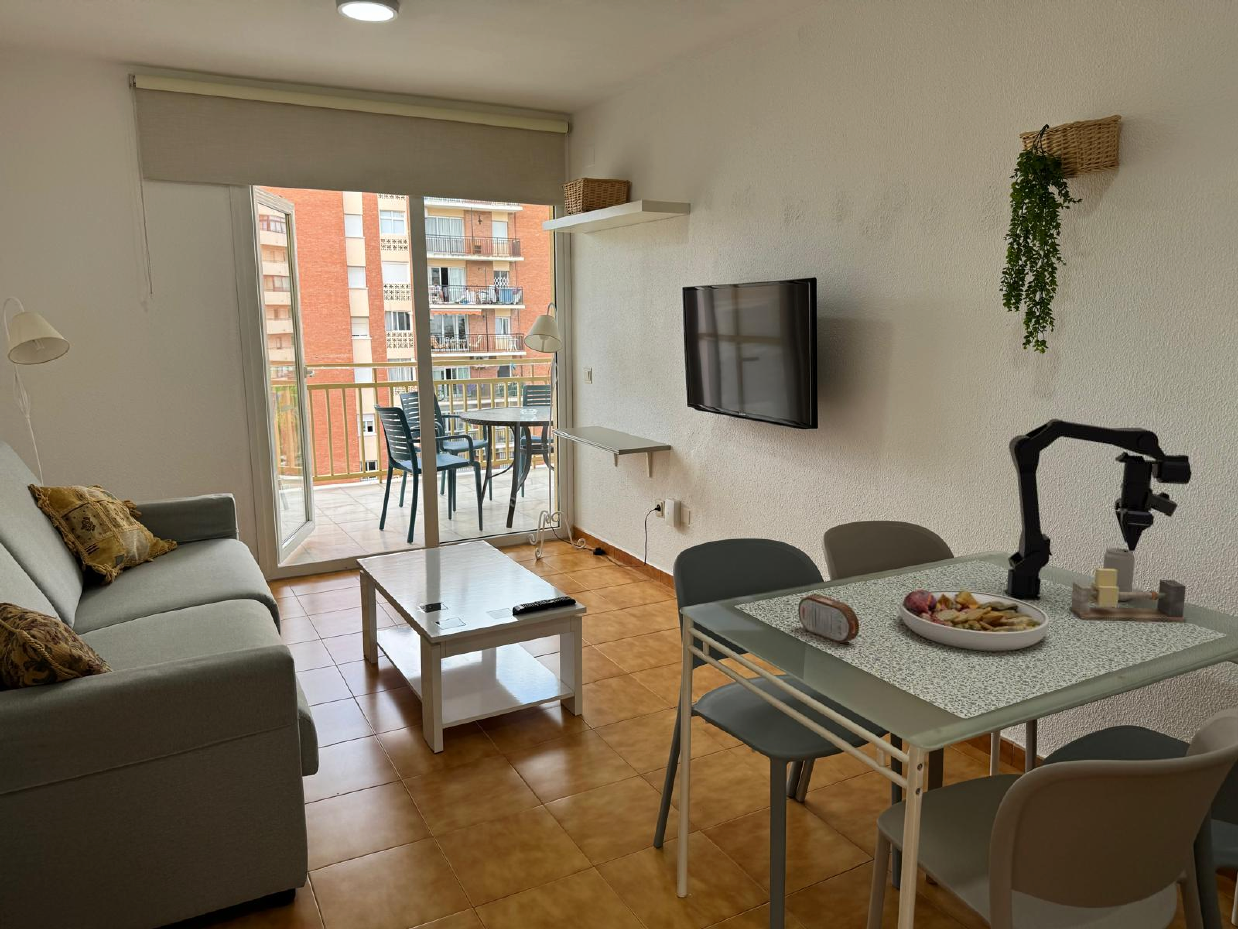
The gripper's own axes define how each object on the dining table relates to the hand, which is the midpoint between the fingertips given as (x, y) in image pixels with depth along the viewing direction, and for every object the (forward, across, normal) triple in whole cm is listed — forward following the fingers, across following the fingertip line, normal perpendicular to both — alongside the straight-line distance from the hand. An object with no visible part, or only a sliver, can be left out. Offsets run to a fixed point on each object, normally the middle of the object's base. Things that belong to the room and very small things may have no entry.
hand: (1129, 546), depth 207 cm
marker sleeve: (+11, -13, +5) cm, 18 cm away
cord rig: (+14, -12, +1) cm, 18 cm away
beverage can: (+14, +3, +1) cm, 14 cm away
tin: (+16, -53, +60) cm, 82 cm away
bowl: (+15, -36, +32) cm, 51 cm away
